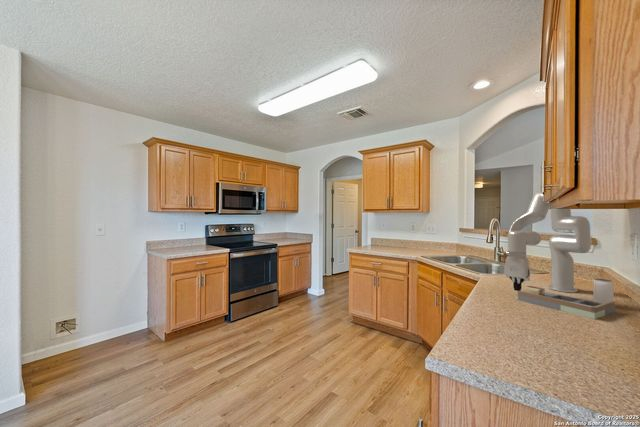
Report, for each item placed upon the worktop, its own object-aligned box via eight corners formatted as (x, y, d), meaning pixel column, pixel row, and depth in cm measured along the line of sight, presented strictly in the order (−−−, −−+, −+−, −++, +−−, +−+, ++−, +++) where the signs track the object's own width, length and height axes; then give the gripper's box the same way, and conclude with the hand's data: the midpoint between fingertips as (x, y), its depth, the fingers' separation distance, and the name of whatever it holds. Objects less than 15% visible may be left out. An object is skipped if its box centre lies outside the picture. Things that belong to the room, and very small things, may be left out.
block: (530, 293, 134) (530, 285, 134) (544, 296, 129) (544, 288, 129) (524, 295, 131) (524, 287, 131) (538, 298, 126) (538, 290, 126)
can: (604, 303, 127) (603, 278, 127) (618, 307, 121) (617, 281, 121) (589, 302, 128) (589, 278, 128) (602, 307, 121) (602, 281, 122)
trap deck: (539, 295, 140) (539, 286, 141) (614, 311, 115) (614, 301, 115) (517, 299, 132) (517, 290, 132) (594, 319, 107) (594, 308, 107)
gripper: (497, 253, 142) (498, 287, 142) (529, 257, 129) (529, 295, 129) (506, 253, 146) (506, 286, 145) (537, 256, 132) (538, 293, 132)
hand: (517, 290), depth 137 cm, fingers closed
